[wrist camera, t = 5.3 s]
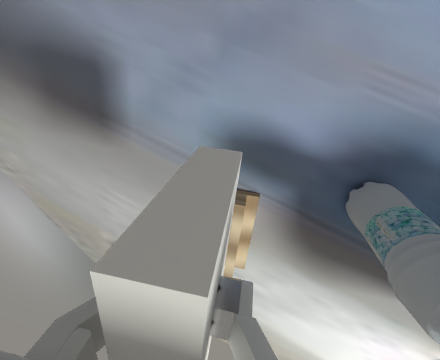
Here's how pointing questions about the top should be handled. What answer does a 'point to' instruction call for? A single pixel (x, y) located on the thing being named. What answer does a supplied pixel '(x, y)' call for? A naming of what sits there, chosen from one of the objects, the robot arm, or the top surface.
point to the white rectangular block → (170, 264)
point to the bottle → (402, 248)
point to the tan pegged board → (240, 230)
